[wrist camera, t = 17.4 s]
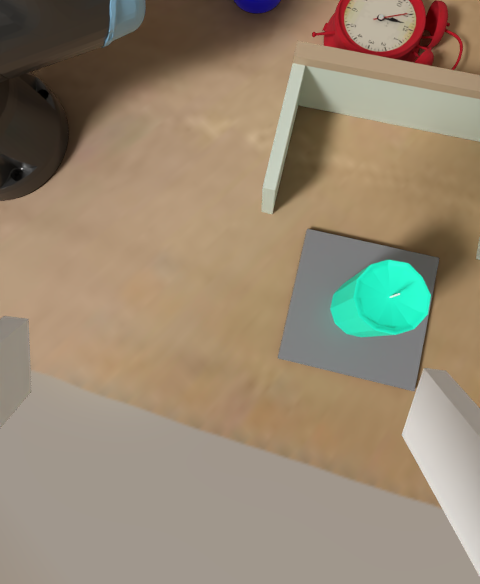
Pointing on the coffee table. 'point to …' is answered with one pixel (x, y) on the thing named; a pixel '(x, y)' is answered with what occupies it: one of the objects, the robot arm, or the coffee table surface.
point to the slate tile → (320, 324)
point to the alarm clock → (388, 28)
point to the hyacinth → (257, 5)
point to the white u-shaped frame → (373, 98)
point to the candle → (381, 300)
